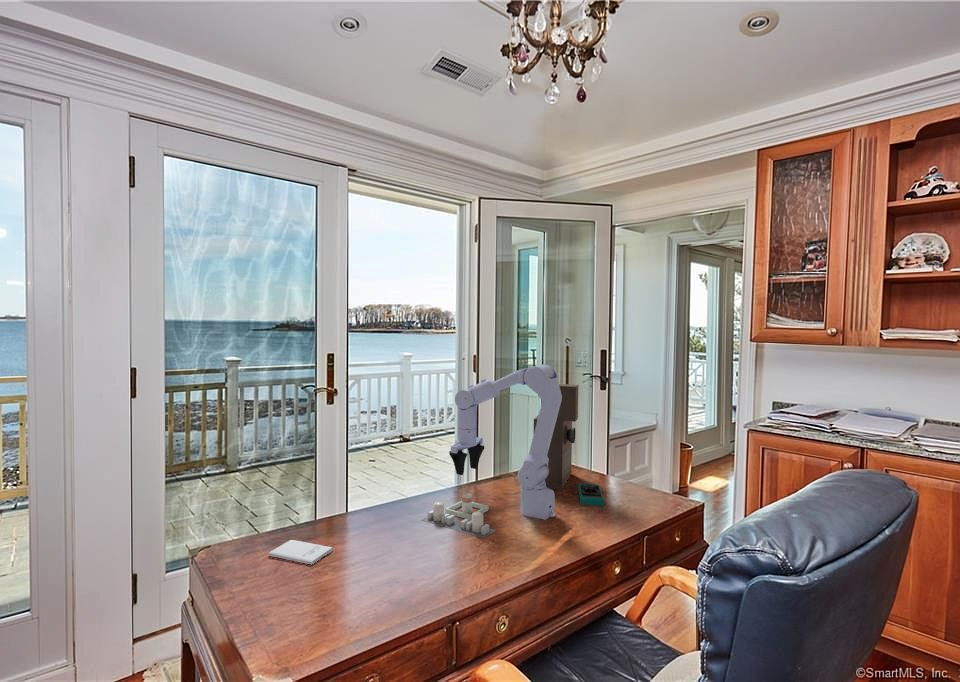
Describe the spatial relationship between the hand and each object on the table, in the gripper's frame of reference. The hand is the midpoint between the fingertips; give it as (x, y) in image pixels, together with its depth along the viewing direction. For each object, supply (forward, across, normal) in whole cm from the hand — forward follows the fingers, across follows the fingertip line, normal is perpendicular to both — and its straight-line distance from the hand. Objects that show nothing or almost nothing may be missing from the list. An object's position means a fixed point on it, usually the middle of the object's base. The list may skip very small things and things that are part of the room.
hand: (467, 471), depth 158 cm
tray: (+10, +8, +6) cm, 14 cm away
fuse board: (+10, +18, +10) cm, 23 cm away
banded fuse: (+9, +8, +6) cm, 14 cm away
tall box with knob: (+10, -36, +13) cm, 40 cm away
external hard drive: (+11, +51, -13) cm, 54 cm away
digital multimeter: (+11, -27, +30) cm, 42 cm away
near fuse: (+9, +18, +16) cm, 26 cm away
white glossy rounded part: (+9, +18, +3) cm, 20 cm away
